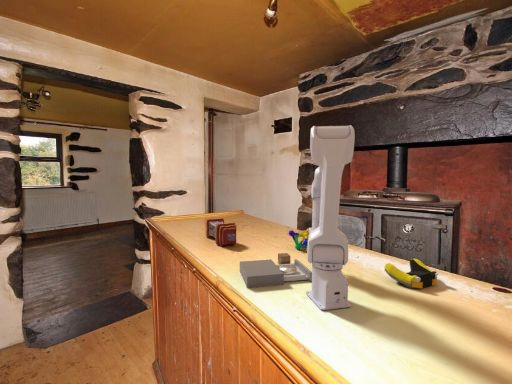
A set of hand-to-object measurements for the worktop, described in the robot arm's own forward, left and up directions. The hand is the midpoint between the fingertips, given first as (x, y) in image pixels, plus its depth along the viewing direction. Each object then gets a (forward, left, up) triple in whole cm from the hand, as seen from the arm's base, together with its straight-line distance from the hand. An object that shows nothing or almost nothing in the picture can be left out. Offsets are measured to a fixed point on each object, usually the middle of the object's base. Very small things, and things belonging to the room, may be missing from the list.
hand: (320, 259), depth 86 cm
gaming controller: (-13, -24, -5) cm, 28 cm away
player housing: (0, +20, -4) cm, 20 cm away
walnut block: (+10, +9, -4) cm, 14 cm away
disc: (0, +11, -3) cm, 12 cm away
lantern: (+47, +28, -5) cm, 55 cm away
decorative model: (+27, -7, -5) cm, 28 cm away
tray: (0, +11, -4) cm, 12 cm away
